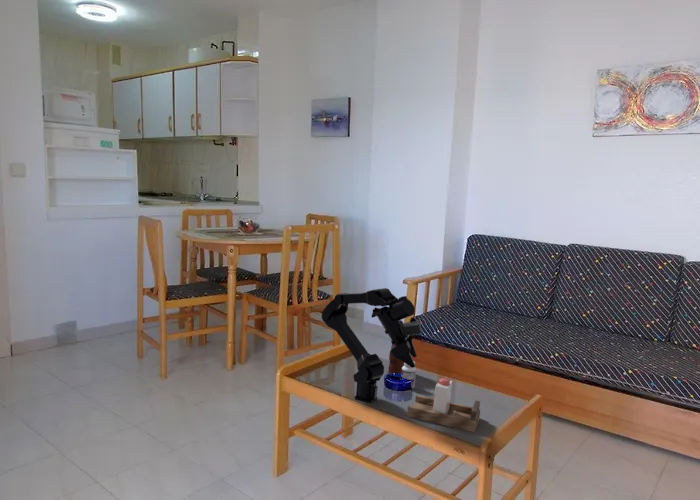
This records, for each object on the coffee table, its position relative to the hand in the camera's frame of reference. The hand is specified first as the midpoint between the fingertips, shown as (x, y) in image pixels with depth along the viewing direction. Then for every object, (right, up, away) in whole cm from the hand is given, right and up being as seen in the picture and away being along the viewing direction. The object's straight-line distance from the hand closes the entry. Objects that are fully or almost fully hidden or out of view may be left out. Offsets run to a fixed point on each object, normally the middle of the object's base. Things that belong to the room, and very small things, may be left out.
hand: (414, 361), depth 174 cm
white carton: (+8, -16, -4) cm, 18 cm away
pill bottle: (0, -14, +22) cm, 26 cm away
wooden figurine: (-3, -13, +34) cm, 37 cm away
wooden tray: (+9, -17, -4) cm, 20 cm away
